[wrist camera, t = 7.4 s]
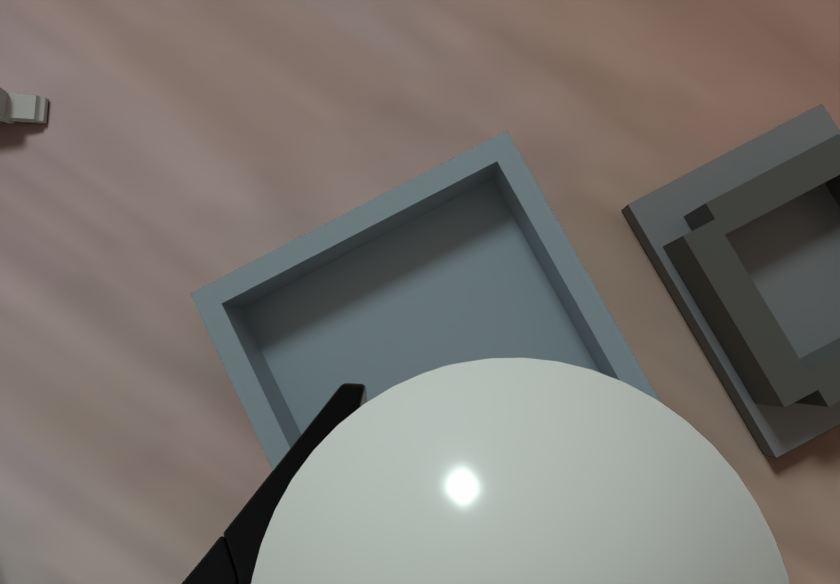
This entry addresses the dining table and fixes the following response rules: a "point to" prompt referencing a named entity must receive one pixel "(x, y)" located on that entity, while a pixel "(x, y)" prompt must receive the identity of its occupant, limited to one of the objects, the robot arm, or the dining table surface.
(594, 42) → the dining table surface
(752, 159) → the grey piece
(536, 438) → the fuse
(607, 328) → the parts tray
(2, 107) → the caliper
